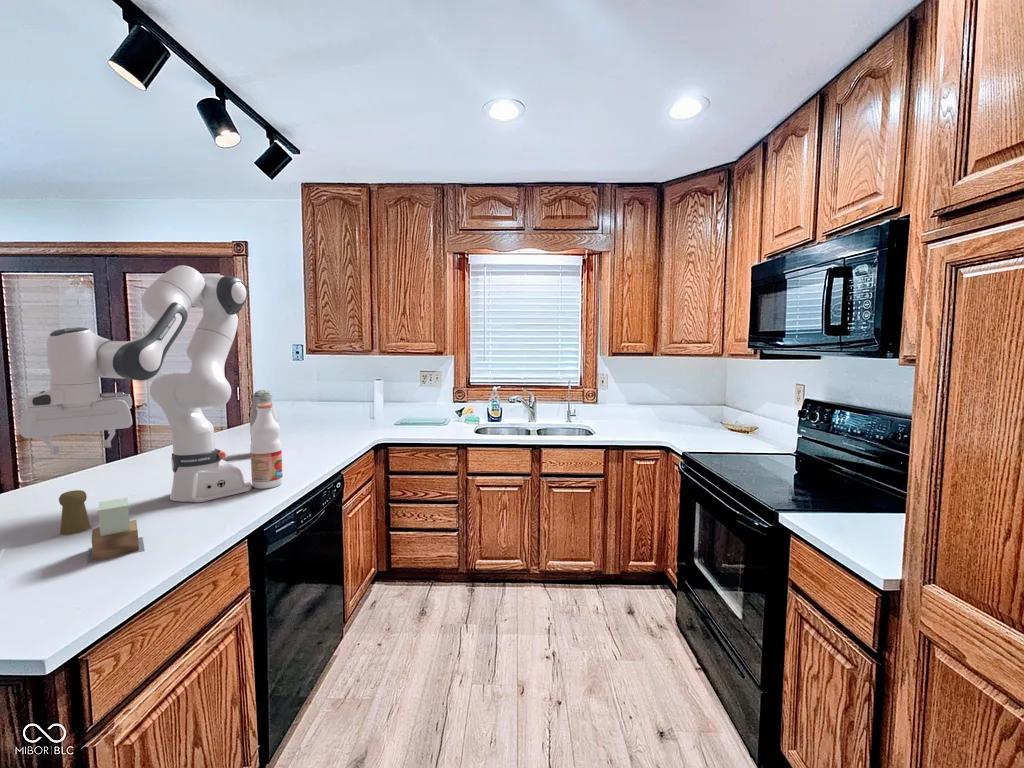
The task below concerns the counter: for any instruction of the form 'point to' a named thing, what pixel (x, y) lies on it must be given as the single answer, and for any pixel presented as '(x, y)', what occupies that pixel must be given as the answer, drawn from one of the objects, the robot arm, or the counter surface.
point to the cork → (73, 513)
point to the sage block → (113, 516)
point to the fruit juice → (265, 449)
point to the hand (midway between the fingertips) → (82, 450)
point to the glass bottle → (261, 398)
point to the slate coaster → (141, 548)
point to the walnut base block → (114, 542)
